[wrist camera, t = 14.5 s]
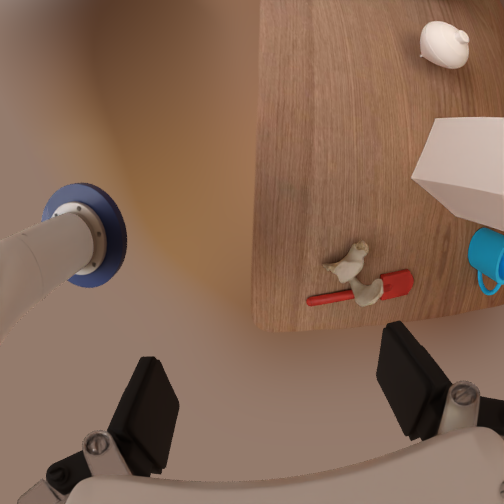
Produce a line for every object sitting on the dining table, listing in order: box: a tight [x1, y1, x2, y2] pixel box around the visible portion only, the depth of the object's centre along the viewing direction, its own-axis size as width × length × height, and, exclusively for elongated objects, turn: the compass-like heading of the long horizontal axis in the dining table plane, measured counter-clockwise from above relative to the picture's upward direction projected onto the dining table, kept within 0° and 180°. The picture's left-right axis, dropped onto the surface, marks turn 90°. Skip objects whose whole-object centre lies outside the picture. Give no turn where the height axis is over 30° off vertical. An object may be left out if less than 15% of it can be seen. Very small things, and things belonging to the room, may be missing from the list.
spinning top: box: [420, 21, 469, 69], centre depth 23 cm, size 8×8×12 cm
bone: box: [323, 240, 383, 307], centre depth 35 cm, size 9×6×10 cm
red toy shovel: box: [306, 269, 414, 306], centre depth 40 cm, size 18×4×1 cm, turn 99°
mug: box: [468, 227, 504, 295], centre depth 35 cm, size 12×8×8 cm
